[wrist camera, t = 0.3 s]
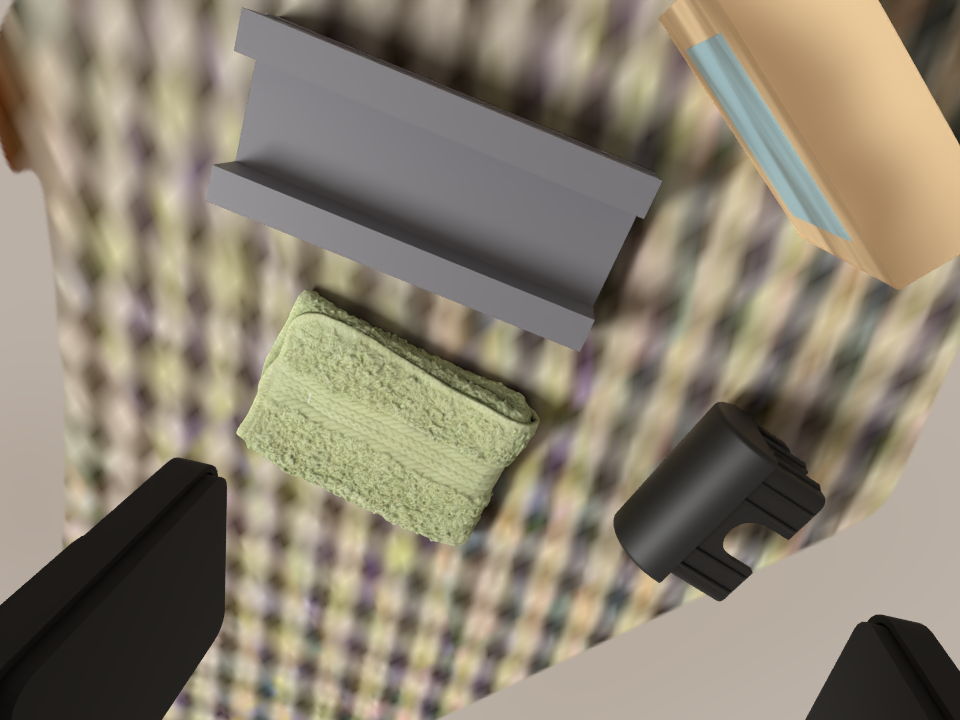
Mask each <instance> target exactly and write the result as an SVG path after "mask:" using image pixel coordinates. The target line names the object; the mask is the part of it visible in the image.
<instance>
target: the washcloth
mask: <svg viewBox="0 0 960 720" xmlns="http://www.w3.org/2000/svg"><path fill="white" fill-rule="evenodd" d="M539 423H540V419H539V416H538V415H537V414H536V413H535V411H534V410H532V409H531V408H530V407H529V406H528V405H527V404H526V400H525V397H524V396H523V395H522V394H520V393H519V392H515V391H514V390H511V389H509V388H507V387H505V386H504V385H503V384H502V383H501V382H496V381H492V380H489V381H488V380H487V378H485V377H481V376H479V375H476V374H474V373H472V372H470V371H468V370H463V369H462V368H460V367H457V366H455V365H454V364H453V363H451V362H448V361H447V360H444V359H441V358H440V357H439V356H435V355H432V354H429V353H427V352H425V350H424V349H420V348H416V347H415V346H414V345H411V344H409V343H407V340H405V339H402V338H400V337H399V338H398V335H397V334H393V335H391V332H384V331H383V330H382V328H379V329H378V328H377V327H372V326H370V325H369V323H368V322H366V321H363V320H362V318H361V319H358V318H356V317H355V316H354V315H353V316H351V315H349V314H348V313H347V312H346V311H344V310H341V308H337V307H335V305H334V304H333V303H331V302H329V301H327V300H326V299H325V298H323V297H321V296H319V294H318V292H316V291H310V290H304V291H303V292H302V293H301V294H300V295H299V296H298V298H297V300H296V302H295V304H294V306H293V308H292V310H291V312H290V315H289V318H288V320H287V322H286V324H285V325H284V328H283V329H282V331H281V332H280V333H279V336H278V338H277V339H276V341H275V343H274V345H273V347H272V348H271V351H270V353H269V354H268V356H267V358H266V360H265V364H264V367H263V371H262V375H261V379H260V382H259V385H258V394H257V395H256V398H255V400H254V402H253V404H252V406H251V408H250V411H249V413H248V415H247V416H246V418H245V419H244V421H243V423H241V425H240V427H239V428H238V431H237V432H236V433H237V435H238V436H240V437H241V438H242V439H244V440H245V442H246V444H247V448H250V449H252V450H254V451H256V452H257V454H259V455H263V456H264V457H265V458H266V459H267V460H268V461H270V462H272V463H273V464H274V465H277V466H279V467H280V468H281V470H282V471H284V472H286V473H287V474H290V475H292V476H294V477H296V476H297V477H301V478H302V479H303V480H306V481H309V482H311V484H312V485H319V486H320V487H321V488H323V489H325V490H326V491H329V492H331V491H332V492H333V494H334V495H337V496H339V497H344V498H345V500H346V501H351V502H354V503H355V504H356V505H357V506H361V507H362V508H364V509H368V510H369V511H373V514H375V513H378V514H380V515H382V516H383V517H384V518H385V519H386V520H387V521H389V522H391V523H392V524H393V525H400V527H401V528H402V529H404V530H406V529H408V530H410V531H414V532H415V533H417V534H421V535H423V536H425V537H428V538H430V541H436V542H438V541H439V542H440V543H445V544H448V545H451V546H458V545H463V544H465V543H467V542H468V539H469V537H470V535H471V534H472V532H473V529H474V528H475V526H476V524H477V522H478V521H479V520H480V518H481V516H480V514H481V513H482V511H483V509H484V508H485V507H486V506H487V505H488V503H489V502H490V497H491V496H493V493H492V488H493V487H494V485H495V484H496V482H497V480H498V479H499V477H500V475H501V473H502V471H503V470H504V468H505V467H507V466H509V465H510V464H511V463H512V462H513V461H514V460H515V459H516V458H517V455H519V453H520V452H521V451H522V450H524V449H525V448H526V447H527V445H528V442H529V440H530V439H531V438H532V437H533V436H534V435H535V434H536V430H537V428H538V425H539Z"/></svg>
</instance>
